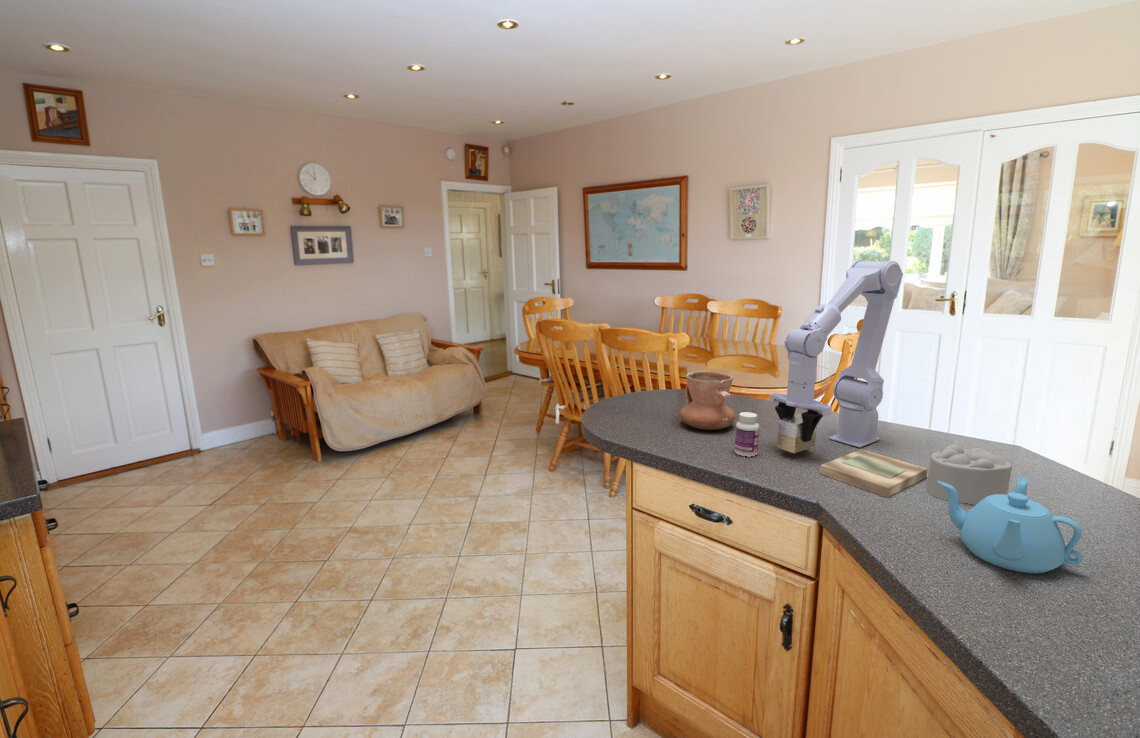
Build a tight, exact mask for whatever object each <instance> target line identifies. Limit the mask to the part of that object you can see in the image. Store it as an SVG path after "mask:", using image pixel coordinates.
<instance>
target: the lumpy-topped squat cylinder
mask: <svg viewBox="0 0 1140 738" xmlns="http://www.w3.org/2000/svg"><path fill="white" fill-rule="evenodd" d="M928 467H929V468H928V472H927V480H926V487H925V489H926V492H927V493H928V494H929V493H930V494H929V495H931V496H932V495H933V497H935V498H937V497H938V499H940V498H941V499H940V500H943V499H945V500H944V501H947V500H948V495H947V492H946V490H945V489H944V487H942V486H941V485H940V484H939V483H938V482H937V481H941V482H944V483H947V484H949V485H951V486H953V487H954V488H955V489H956V491H957V493H958V502H960V503H959V504H962V503H968V504H967V505H969V504H978V503H979V502H980V501H981V500H983V499H984V498H986V497H987V496H990V495H995V494H1004V495H1007V494H1008V493H1009V487H1010V481H1011V476H1012V469H1013V466H1012V463H1010V462H1008V461H1006V460H1004V459H1003V458H1002V457H1000V455H996V454H995V453H991V452H989V451H987V450H985V449H984V448H980V447H973V448H963V447H962V446H961V445H959V444H953V443H952V444H947V445H946V446H945V447H944V448H943V449H939V450H938V451H935V452H932V454H931V455H930V459H929V466H928Z"/></svg>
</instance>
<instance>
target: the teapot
mask: <svg viewBox="0 0 1140 738" xmlns="http://www.w3.org/2000/svg"><path fill="white" fill-rule="evenodd" d="M937 482H938V483H939V484H940V485H941V486H942V487H944V489H945V490H946V492H947V495H948V501H947V502H948V503H947V504H948V505H947V507H948V508H947V510H948V517H949V518H950V521H951V522H952V524H954V526H955V527H957V529H959V533H958V534H959V536H960V539H961V541H962V542H963V544H964V545H965V546H966V548H967V549H968V550H969V551H970V552H971V553H972V554H974V556H976V557H978V558H979V559H980V560H982V561H984V562H987V563H989V564H992V565H993V566H996V567H999V568H1002V569H1005V570H1009V571H1013V572H1017V573H1024V574H1043V573H1047V572H1051V571H1052V570H1055V569H1057V568H1059V567H1061V566H1062V565H1063V564H1064V562H1065V563H1067V564H1069V565H1079V564H1080V565H1081V563H1082V562H1083V560H1084V559H1083V558H1084V557H1083V555H1082V554H1081V552H1080V551H1078V550H1074V549H1075V548H1076V546H1077V545H1078V543H1079V541H1080V540H1081V538H1082V534H1083V533H1082V528H1081V526H1080V525H1079V524H1078V523H1077V522H1076V521H1074V520H1073V519H1071V518H1069V517H1067V516H1062V515H1054V516H1053V515H1052V513H1051V512H1050V511H1049V509H1048V508H1046V507H1045V506H1043V505H1042V504H1041V503H1039V502H1037V501H1036V502H1035V501H1034V500H1031V499H1030V497H1029V496H1027V495H1028V494H1027V490H1028V489H1027V488H1028V485H1029V481H1028V478H1027V476H1020V477H1018V479H1017V481H1016V485H1015V487H1014V489H1013V491H1012V492H1008V494H1007V495H1004V494H995V495H990V496H987V497H986V498H984V499H983V500H981V501H980V502H979V503H978V504H976V505H973V507H972V508H971V509H970V510H969V511H968V512H966V511H965V510H964V509H962V507H961V506H960V503H959V502H958V493H957V491H956V489H955V488H954V487H953V486H951V485H949V484H947V483H944V482H941V481H937ZM1058 523H1062V524H1065V525H1068V526H1069V527H1071V528H1072V529H1073V533H1072V534H1073V535H1072V537H1071V538H1070V540H1069V541H1068V543H1067V544H1065V539H1064V536H1063V534H1062V531H1061V529H1060V527H1059V526H1058ZM1070 555H1073V556H1075V558H1072V557H1070Z"/></svg>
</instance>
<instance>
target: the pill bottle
mask: <svg viewBox="0 0 1140 738" xmlns="http://www.w3.org/2000/svg"><path fill="white" fill-rule="evenodd" d="M738 420H739V421H737V422H736V424H735V438H734V453H735V454H736V455H737V456H740V455H741V456H740V457H745V456H747V457H746V458H749V457H750V458H752V457H751V456H753V457H755V455H756V456H757V455H758V454H759V443H760V424H759V423H758V422H757V421H758V414H757V413H754V412H750V411H742V412H740V413H739V416H738Z"/></svg>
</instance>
